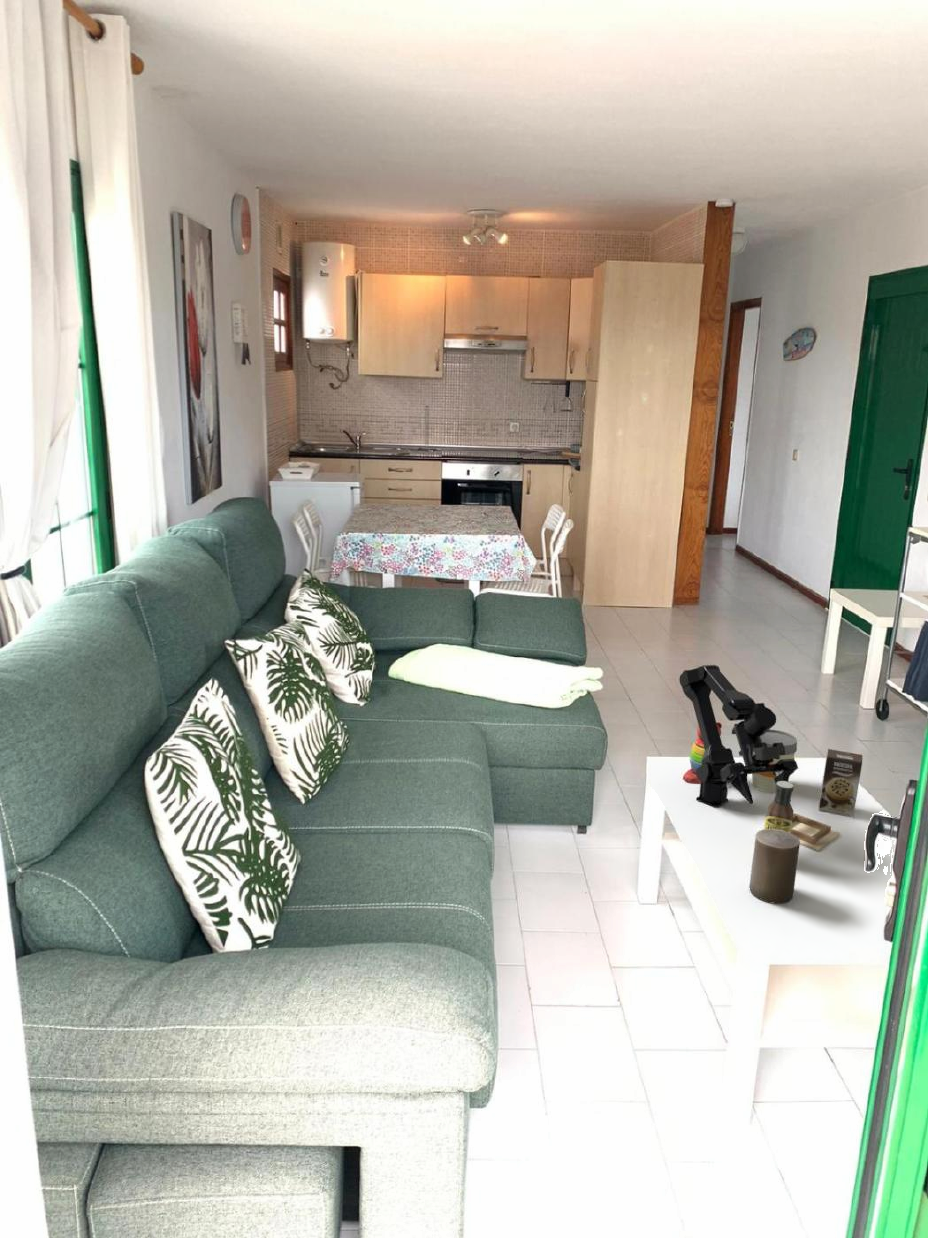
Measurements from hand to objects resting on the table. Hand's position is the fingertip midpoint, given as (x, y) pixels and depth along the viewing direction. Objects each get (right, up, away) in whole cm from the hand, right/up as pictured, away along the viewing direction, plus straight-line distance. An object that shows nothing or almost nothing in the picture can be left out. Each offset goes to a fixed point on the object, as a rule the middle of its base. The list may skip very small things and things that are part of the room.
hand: (768, 802), depth 237 cm
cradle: (+13, -10, +12) cm, 20 cm away
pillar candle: (-5, -18, -16) cm, 24 cm away
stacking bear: (-5, -1, +42) cm, 43 cm away
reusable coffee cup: (+12, -3, +39) cm, 41 cm away
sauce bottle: (+1, -14, -1) cm, 14 cm away
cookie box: (+27, -7, +26) cm, 38 cm away
